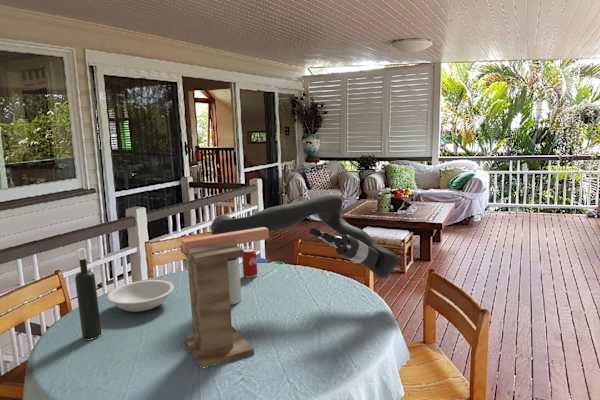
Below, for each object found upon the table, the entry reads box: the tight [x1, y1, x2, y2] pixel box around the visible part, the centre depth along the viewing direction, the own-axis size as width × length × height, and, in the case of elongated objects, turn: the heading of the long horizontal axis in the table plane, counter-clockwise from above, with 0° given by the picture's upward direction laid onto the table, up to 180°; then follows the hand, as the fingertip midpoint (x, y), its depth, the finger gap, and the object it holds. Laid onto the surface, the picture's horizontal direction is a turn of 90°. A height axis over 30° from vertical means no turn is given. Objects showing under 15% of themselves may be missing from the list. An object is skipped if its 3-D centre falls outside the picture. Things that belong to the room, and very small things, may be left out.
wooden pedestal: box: [179, 241, 255, 369], centre depth 138 cm, size 18×16×33 cm
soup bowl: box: [106, 279, 175, 312], centre depth 174 cm, size 24×24×7 cm
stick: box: [181, 227, 270, 253], centre depth 137 cm, size 3×26×3 cm, turn 119°
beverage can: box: [241, 248, 258, 279], centre depth 204 cm, size 6×6×12 cm
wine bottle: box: [74, 247, 102, 340], centre depth 149 cm, size 6×6×30 cm
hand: (316, 232), depth 152 cm, fingers open, 8 cm apart
